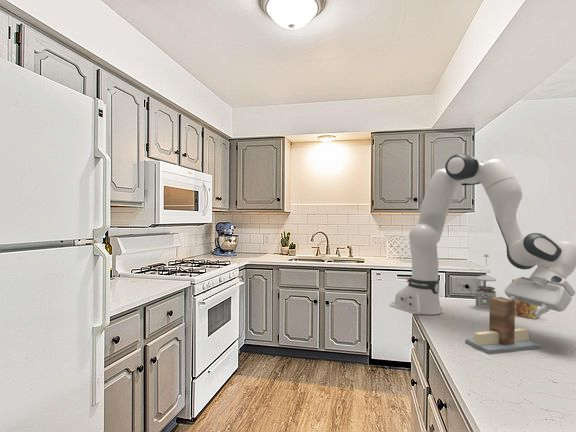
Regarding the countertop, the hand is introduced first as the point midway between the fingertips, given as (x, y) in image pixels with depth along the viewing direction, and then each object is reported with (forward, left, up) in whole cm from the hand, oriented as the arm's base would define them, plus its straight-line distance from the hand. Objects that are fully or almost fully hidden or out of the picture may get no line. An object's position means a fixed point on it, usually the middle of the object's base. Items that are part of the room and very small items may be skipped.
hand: (522, 311), depth 119 cm
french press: (-27, +37, -11) cm, 47 cm away
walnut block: (-4, -7, -9) cm, 12 cm away
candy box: (-11, +38, -11) cm, 41 cm away
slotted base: (-4, -7, -11) cm, 13 cm away
